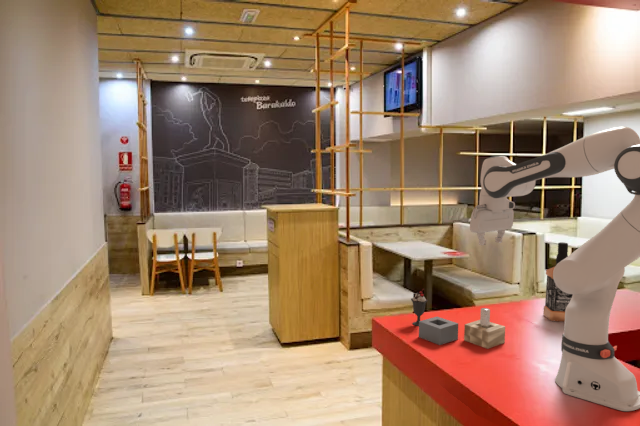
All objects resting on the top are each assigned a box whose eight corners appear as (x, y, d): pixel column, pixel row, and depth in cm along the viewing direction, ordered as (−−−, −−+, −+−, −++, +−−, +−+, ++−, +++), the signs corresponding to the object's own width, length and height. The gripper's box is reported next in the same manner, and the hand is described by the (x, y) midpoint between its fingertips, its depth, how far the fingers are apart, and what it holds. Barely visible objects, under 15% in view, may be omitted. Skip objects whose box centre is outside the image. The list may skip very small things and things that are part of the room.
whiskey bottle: (550, 321, 197) (554, 244, 193) (542, 314, 206) (546, 240, 203) (577, 322, 195) (581, 245, 192) (568, 315, 205) (572, 241, 202)
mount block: (504, 342, 173) (505, 326, 172) (487, 348, 167) (488, 332, 166) (480, 334, 181) (481, 319, 180) (464, 340, 175) (464, 324, 174)
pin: (490, 341, 173) (492, 309, 172) (485, 343, 171) (486, 311, 170) (483, 339, 176) (484, 307, 175) (477, 341, 174) (478, 309, 173)
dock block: (457, 339, 176) (458, 323, 175) (439, 345, 170) (440, 328, 169) (436, 331, 184) (436, 316, 183) (418, 337, 178) (419, 321, 177)
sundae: (427, 327, 189) (428, 290, 187) (410, 326, 190) (410, 289, 188) (427, 322, 195) (428, 286, 194) (410, 321, 196) (411, 285, 195)
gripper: (482, 206, 155) (480, 248, 157) (517, 203, 167) (515, 242, 169) (466, 204, 160) (464, 245, 162) (501, 201, 172) (499, 239, 174)
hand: (490, 243), depth 165 cm, fingers open, 8 cm apart
